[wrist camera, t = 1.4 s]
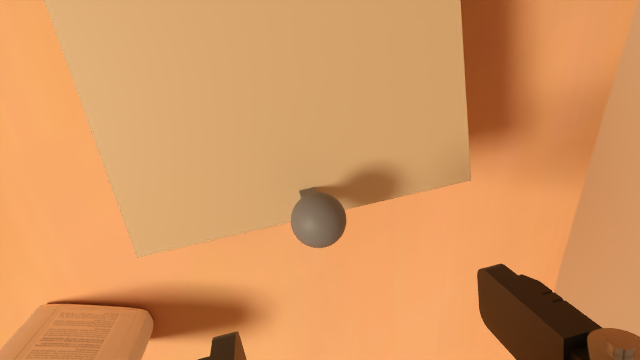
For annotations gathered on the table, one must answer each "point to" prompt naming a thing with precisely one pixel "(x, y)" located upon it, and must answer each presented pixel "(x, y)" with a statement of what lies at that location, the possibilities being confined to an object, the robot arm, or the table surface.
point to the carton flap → (266, 109)
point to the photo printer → (81, 334)
